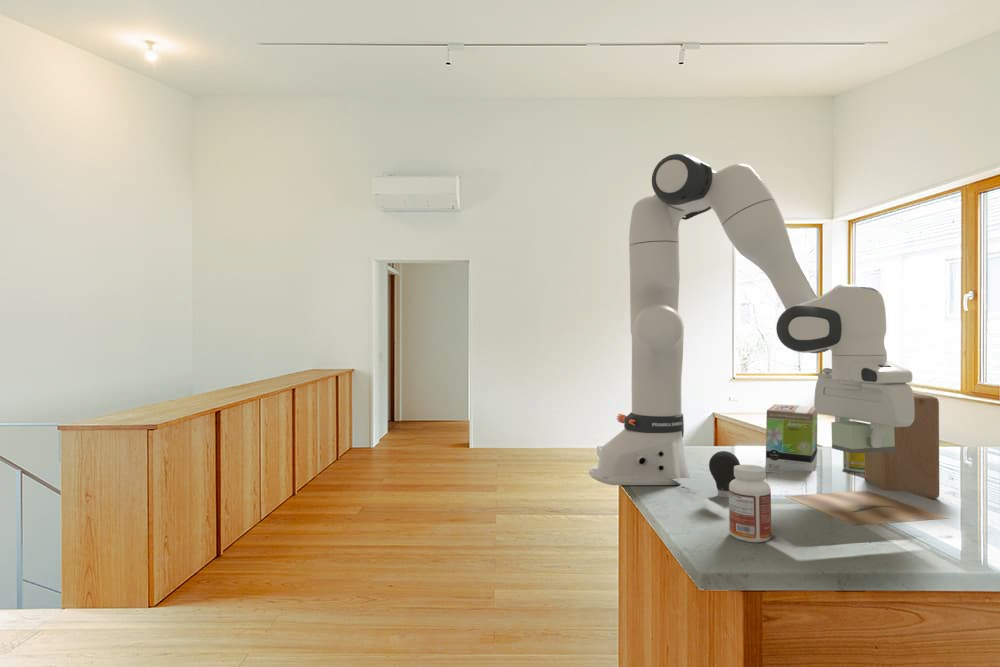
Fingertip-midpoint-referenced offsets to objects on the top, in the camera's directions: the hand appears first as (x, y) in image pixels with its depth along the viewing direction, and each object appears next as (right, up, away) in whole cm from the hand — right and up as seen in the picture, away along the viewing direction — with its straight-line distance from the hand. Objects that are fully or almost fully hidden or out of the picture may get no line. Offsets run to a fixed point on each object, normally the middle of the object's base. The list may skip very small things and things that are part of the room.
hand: (860, 443), depth 108 cm
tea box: (+2, -12, +29) cm, 31 cm away
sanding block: (+1, -1, 0) cm, 1 cm away
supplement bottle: (+16, -12, +27) cm, 34 cm away
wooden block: (+14, -12, +9) cm, 20 cm away
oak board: (-3, -12, -5) cm, 13 cm away
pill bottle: (-28, -12, -16) cm, 34 cm away
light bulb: (-25, -12, +2) cm, 28 cm away
